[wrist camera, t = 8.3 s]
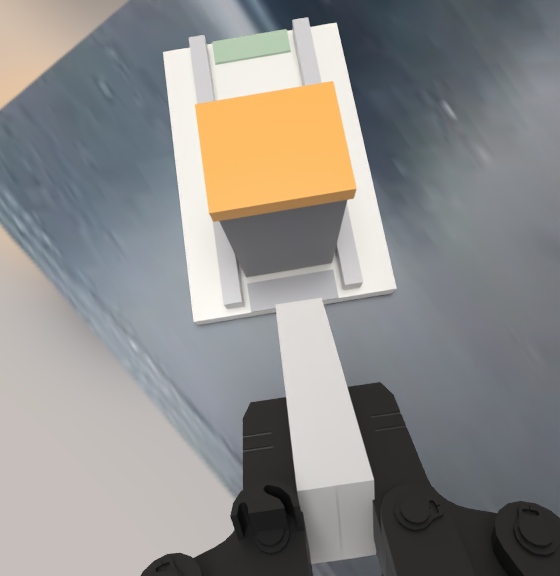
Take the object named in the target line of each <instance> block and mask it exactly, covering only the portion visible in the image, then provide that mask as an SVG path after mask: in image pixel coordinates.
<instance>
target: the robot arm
mask: <svg viewBox="0 0 560 576" xmlns="http://www.w3.org/2000/svg"><path fill="white" fill-rule="evenodd" d="M275 306H276V315H277V324H278V332H279V341H280V349H281V358H282V366H283V375H284V384H285V392H286V397H284V398H278V399H271V400H264V401H257V402H251V403H250V405H249V407H248V409H247V411H246V413H245V415H244V417H243V491H241V492H240V494H239V495H238V497H237V498H236V500H235V501H234V503H233V507H232V511H231V519H232V522H233V526H234V529H235V530H234V532H233V533H232V534H231V535H230V536H229V537H228V538H227V539H226V540H225V541H224V542H222V543H221V544H219V545H218V546H216V547H214V548H213V549H210V550H208V551H206V552H204V553H203V554H201V555H199V556H197V557H195V558H192V557H191V556H188V555H185V554H182V553H175V554H167V555H165V556H163V557H161V558H159V559H157V560H155V561H154V562H153V563H151V564H150V565H149V566H148V567H147V569H145V570H144V571H143V573H142V574H141V576H313V574H312V566H311V564H317V563H323V562H330V561H337V560H344V559H351V558H358V557H365V556H371V555H376V550H377V554H378V558H379V562H380V566H381V573H382V576H560V518H559V517H558V516H556V515H555V514H554V513H553V512H552V511H550V510H548V509H546V508H544V507H542V506H540V505H537V504H535V503H529V502H523V501H519V502H514V503H509V504H507V505H506V506H504V507H503V508H502V509H500V510H499V512H498V513H492V512H486V511H480V510H474V509H469V508H465V507H461V506H458V505H456V504H454V503H452V502H450V501H448V500H446V499H445V498H444V497H442V496H441V495H440V494H438V493H437V491H436V490H435V489H434V488H433V487H432V486H431V484H430V482H429V480H428V479H427V476H426V474H425V471H424V469H423V467H422V464H421V462H420V459H419V457H418V454H417V452H416V449H415V447H414V444H413V442H412V439H411V437H410V435H409V432H408V430H407V428H406V425H405V422H404V420H403V417H402V415H401V414H400V410H399V407H398V405H397V402H396V400H395V398H394V395H393V394H392V393H391V392H390V391H389V390H388V389H387V388H386V387H385V386H384V385H383V384H381V383H380V382H378V383H372V384H365V385H358V386H351V387H347V384H346V381H345V377H344V374H343V370H342V367H341V363H340V360H339V356H338V353H337V349H336V346H335V343H334V339H333V336H332V332H331V329H330V325H329V322H328V318H327V315H326V311H325V308H324V304H323V301H322V298H316V299H309V300H302V301H296V302H289V303H282V304H275Z"/></svg>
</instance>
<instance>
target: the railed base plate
mask: <svg viewBox="0 0 560 576" xmlns="http://www.w3.org/2000/svg"><path fill="white" fill-rule="evenodd" d="M292 24H293V30H291V31H287V29H285V30H279V31H273V32H267V33H261V34H255V35H249V36H243V37H237V38H232V39H226V40H220V41H214V42H212V44H208V45H207V43H206V40H205V36H204V35H201V36H195V37H189V44H190V48H185V49H179V50H173V51H167V52H163V56H164V65H165V74H166V83H167V91H168V100H169V109H170V118H171V127H172V135H173V144H174V153H175V162H176V171H177V180H178V188H179V197H180V206H181V215H182V224H183V232H184V241H185V250H186V259H187V268H188V277H189V285H190V294H191V303H192V312H193V321H194V322H195V323H196V324H198V325H202V324H208V323H214V322H220V321H227V320H233V319H239V318H245V317H251V316H257V315H263V314H269V313H275V312H276V306H275V304H282V303H289V302H296V301H302V300H309V299H316V298H322V301H323V304H330V303H336V302H342V301H348V300H354V299H360V298H367V297H373V296H379V295H385V294H391V293H393V292H394V291H395V290H396V289H397V288H396V284H395V279H394V275H393V271H392V266H391V262H390V257H389V253H388V248H387V244H386V240H385V235H384V231H383V226H382V222H381V217H380V213H379V209H378V204H377V200H376V195H375V191H374V187H373V182H372V178H371V173H370V169H369V164H368V160H367V156H366V151H365V147H364V142H363V138H362V134H361V129H360V125H359V120H358V116H357V111H356V107H355V103H354V98H353V94H352V89H351V85H350V81H349V76H348V72H347V67H346V63H345V58H344V54H343V50H342V45H341V41H340V36H339V32H338V28H337V23H332V24H326V25H320V26H314V27H310V25H309V20H308V17H307V18H301V19H295V20H292ZM330 81H333V82H334V86H335V91H336V96H337V100H338V105H339V109H340V114H341V119H342V123H343V128H344V133H345V137H346V142H347V146H348V151H349V156H350V160H351V165H352V170H353V174H354V179H355V183H356V188H357V189H356V193H355V196H354V199H349V200H347V204H346V208H345V212H344V216H343V220H342V224H341V228H340V232H339V237H338V241H337V245H336V249H335V253H334V257H333V261H332V263H329V264H323V265H317V266H311V267H305V268H299V269H293V270H286V271H280V272H274V273H268V274H262V275H256V276H250V277H246V276H245V274H244V272H243V270H242V268H241V266H240V263H239V261H238V259H237V257H236V255H235V253H234V251H233V249H232V247H231V245H230V243H229V241H228V239H227V236H226V234H225V232H224V230H223V228H222V226H221V224H220V222H219V221H216V222H213V220H212V218H211V216H210V215H209V211H208V203H207V195H206V187H205V180H204V172H203V164H202V156H201V149H200V141H199V133H198V125H197V118H196V110H195V104H199V103H205V102H211V101H217V100H223V99H229V98H235V97H241V96H247V95H253V94H259V93H265V92H271V91H277V90H283V89H288V88H294V87H300V86H306V85H312V84H318V83H324V82H330Z"/></svg>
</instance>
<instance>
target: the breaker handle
mask: <svg viewBox="0 0 560 576" xmlns="http://www.w3.org/2000/svg"><path fill="white" fill-rule="evenodd" d="M195 110H196V118H197V125H198V133H199V141H200V149H201V156H202V164H203V172H204V180H205V187H206V195H207V203H208V211H209V215H210V216H211V218H212V220H213V222H216V221H219V222H220V224H221V226H222V228H223V230H224V232H225V234H226V236H227V239H228V241H229V243H230V245H231V247H232V249H233V251H234V253H235V255H236V257H237V259H238V261H239V263H240V266H241V268H242V270H243V272H244V274H245V276H246V277H250V276H256V275H262V274H268V273H274V272H280V271H286V270H293V269H299V268H305V267H311V266H317V265H323V264H329V263H332V261H333V257H334V253H335V249H336V245H337V241H338V237H339V232H340V228H341V224H342V220H343V216H344V212H345V208H346V204H347V200H349V199H354V196H355V193H356V189H357V188H356V183H355V179H354V174H353V170H352V165H351V160H350V156H349V151H348V146H347V142H346V137H345V133H344V128H343V123H342V119H341V114H340V109H339V105H338V100H337V96H336V91H335V86H334V82H333V81H330V82H324V83H318V84H312V85H306V86H300V87H294V88H288V89H283V90H277V91H271V92H265V93H259V94H253V95H247V96H241V97H235V98H229V99H223V100H217V101H211V102H205V103H199V104H195Z"/></svg>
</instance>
